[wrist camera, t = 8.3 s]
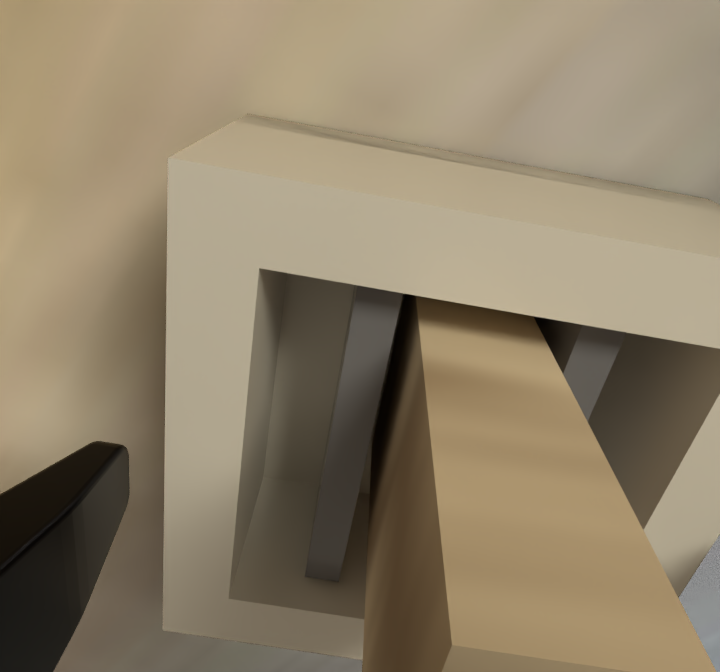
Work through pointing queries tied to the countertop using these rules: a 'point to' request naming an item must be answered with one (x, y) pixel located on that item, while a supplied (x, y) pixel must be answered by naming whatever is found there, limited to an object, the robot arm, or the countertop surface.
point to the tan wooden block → (503, 516)
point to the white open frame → (375, 345)
